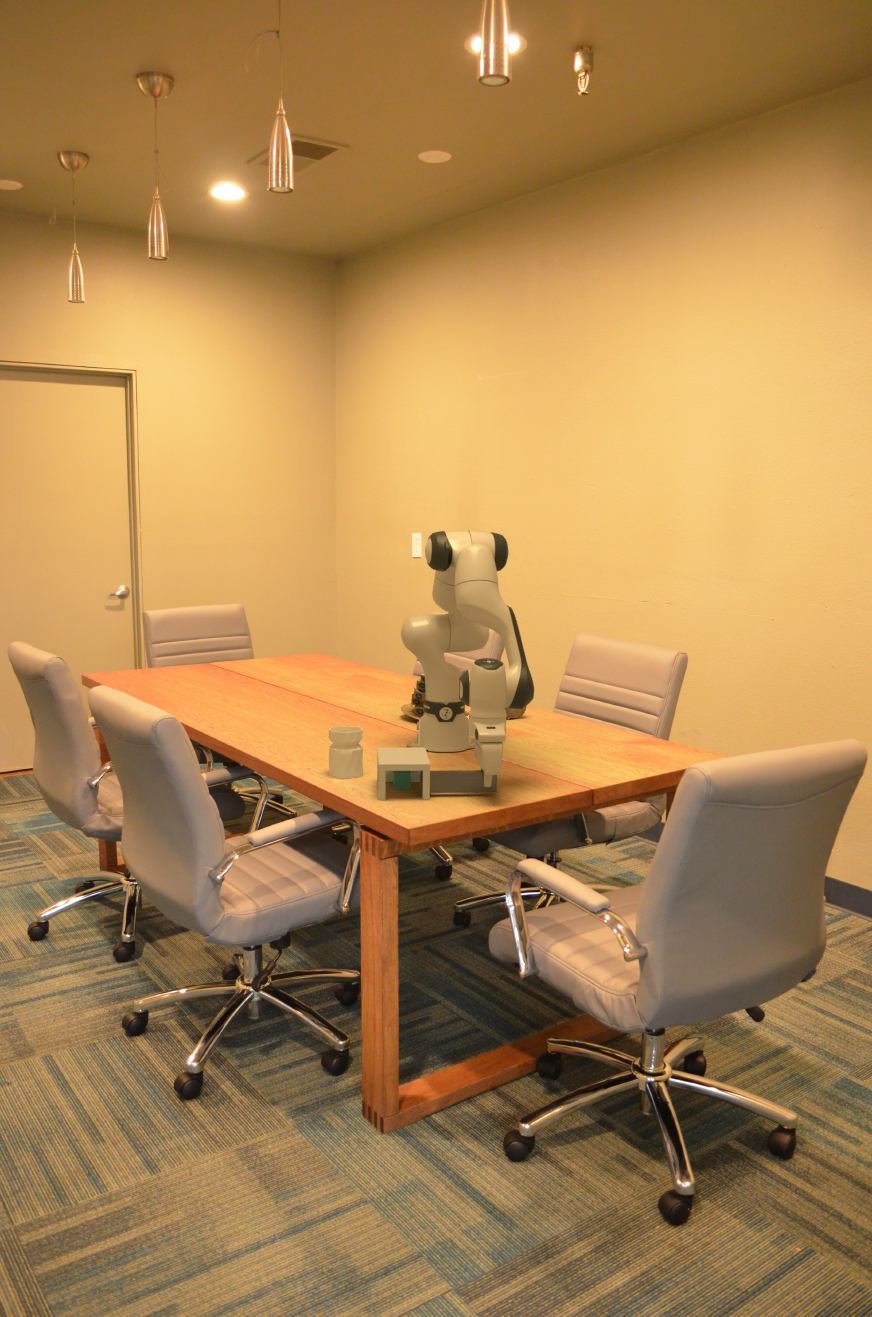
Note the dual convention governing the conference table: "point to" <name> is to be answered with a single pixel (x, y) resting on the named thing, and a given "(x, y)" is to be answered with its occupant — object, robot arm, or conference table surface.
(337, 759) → the pale lidded jar
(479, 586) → the robot arm
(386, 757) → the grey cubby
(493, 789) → the dark grey long block
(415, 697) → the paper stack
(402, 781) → the teal block
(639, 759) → the conference table surface
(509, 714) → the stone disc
